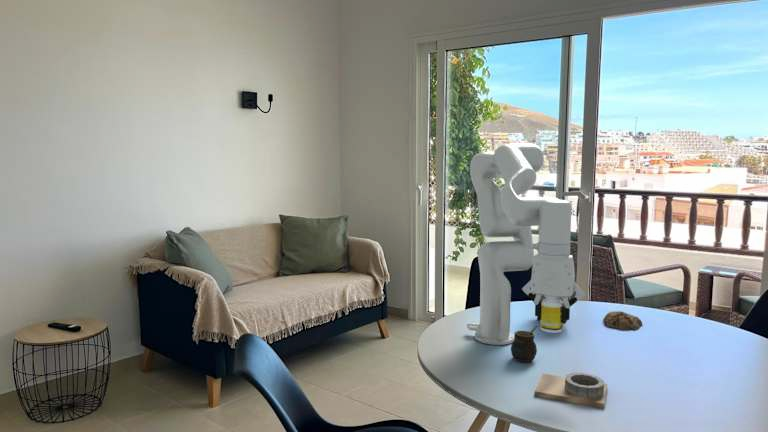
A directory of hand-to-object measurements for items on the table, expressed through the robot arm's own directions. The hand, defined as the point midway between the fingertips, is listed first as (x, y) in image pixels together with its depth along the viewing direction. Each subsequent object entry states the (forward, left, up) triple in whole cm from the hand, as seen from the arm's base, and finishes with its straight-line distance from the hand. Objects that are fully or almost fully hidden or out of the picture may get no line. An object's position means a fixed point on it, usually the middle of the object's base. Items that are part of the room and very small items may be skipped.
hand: (552, 320), depth 138 cm
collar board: (+5, 0, -18) cm, 19 cm away
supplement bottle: (0, 0, -3) cm, 3 cm away
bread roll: (+15, +64, -18) cm, 68 cm away
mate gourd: (-10, +17, -18) cm, 27 cm away
